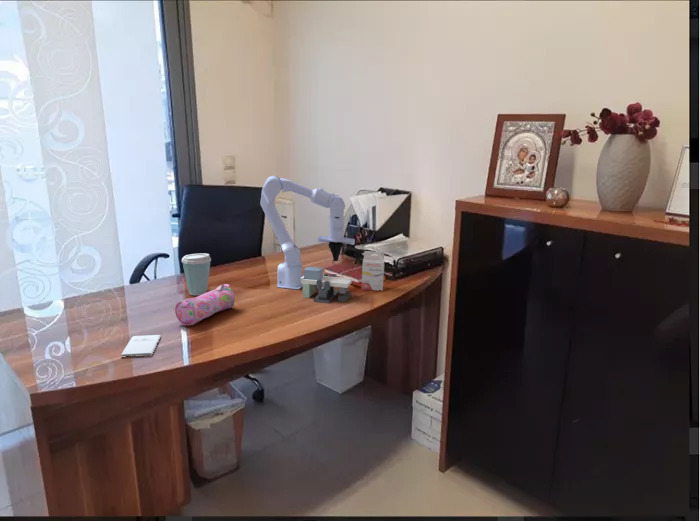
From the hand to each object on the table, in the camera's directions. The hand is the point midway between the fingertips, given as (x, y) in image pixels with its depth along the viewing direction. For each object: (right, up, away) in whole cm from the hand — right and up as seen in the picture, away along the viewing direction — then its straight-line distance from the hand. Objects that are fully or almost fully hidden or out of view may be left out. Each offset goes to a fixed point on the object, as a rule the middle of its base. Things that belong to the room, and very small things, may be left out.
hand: (335, 260), depth 198 cm
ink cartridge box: (+15, -11, 0) cm, 18 cm away
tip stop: (+4, -14, -12) cm, 19 cm away
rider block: (-8, -7, -11) cm, 15 cm away
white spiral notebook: (-54, -26, -55) cm, 81 cm away
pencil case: (-42, -19, -31) cm, 56 cm away
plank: (-3, -9, -12) cm, 15 cm away
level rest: (-10, -13, -9) cm, 19 cm away
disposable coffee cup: (-52, -12, -9) cm, 54 cm away
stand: (-3, -14, -10) cm, 17 cm away
